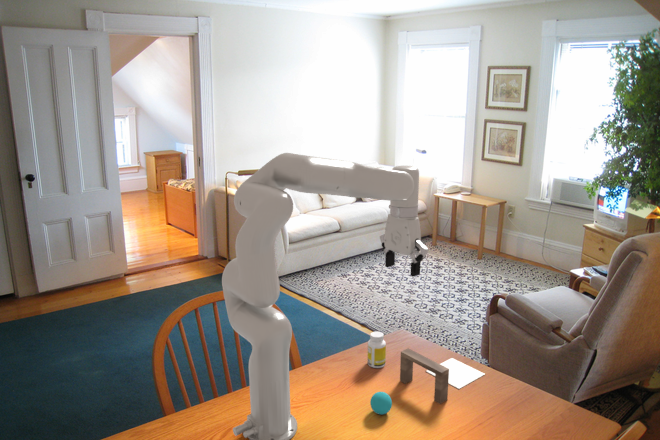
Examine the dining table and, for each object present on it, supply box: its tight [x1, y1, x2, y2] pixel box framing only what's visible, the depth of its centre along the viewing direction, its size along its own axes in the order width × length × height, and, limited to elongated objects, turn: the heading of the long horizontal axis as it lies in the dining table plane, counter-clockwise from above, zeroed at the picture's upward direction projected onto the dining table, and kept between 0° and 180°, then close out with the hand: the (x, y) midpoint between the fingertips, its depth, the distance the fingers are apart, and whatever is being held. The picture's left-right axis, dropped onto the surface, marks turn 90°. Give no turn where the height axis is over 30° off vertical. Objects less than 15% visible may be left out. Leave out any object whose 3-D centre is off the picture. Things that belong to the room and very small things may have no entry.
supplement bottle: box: [367, 331, 387, 369], centre depth 157 cm, size 5×5×10 cm
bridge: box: [399, 348, 449, 405], centre depth 143 cm, size 3×14×9 cm, turn 39°
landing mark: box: [425, 357, 486, 390], centre depth 153 cm, size 12×12×1 cm
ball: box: [370, 391, 393, 415], centre depth 134 cm, size 6×6×6 cm
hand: (402, 270), depth 147 cm, fingers open, 9 cm apart
